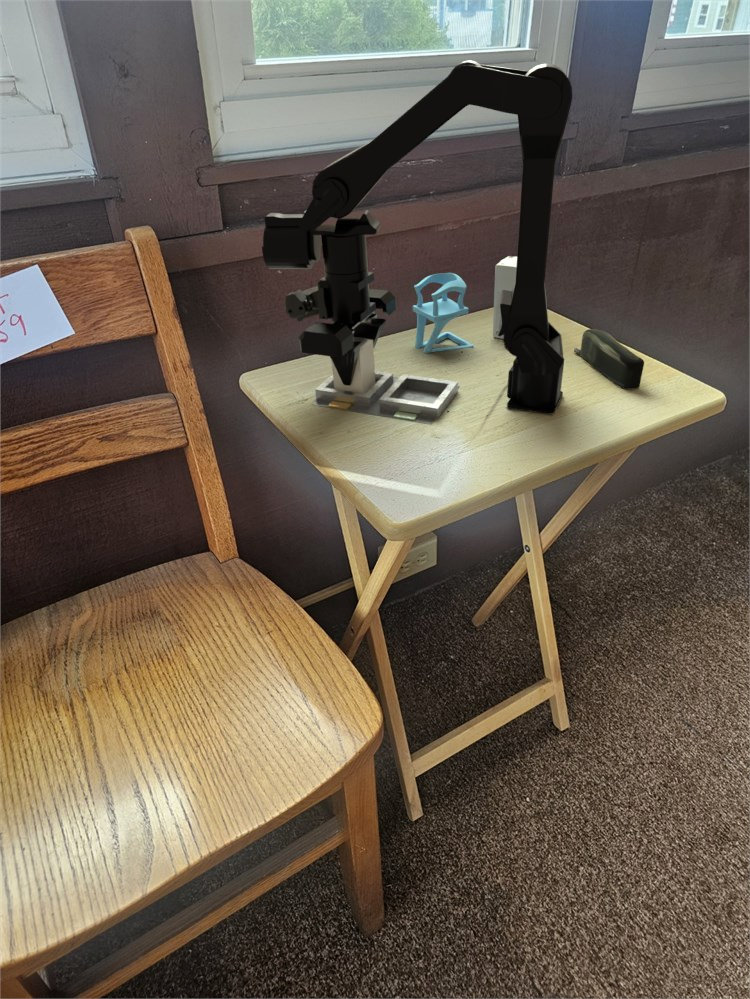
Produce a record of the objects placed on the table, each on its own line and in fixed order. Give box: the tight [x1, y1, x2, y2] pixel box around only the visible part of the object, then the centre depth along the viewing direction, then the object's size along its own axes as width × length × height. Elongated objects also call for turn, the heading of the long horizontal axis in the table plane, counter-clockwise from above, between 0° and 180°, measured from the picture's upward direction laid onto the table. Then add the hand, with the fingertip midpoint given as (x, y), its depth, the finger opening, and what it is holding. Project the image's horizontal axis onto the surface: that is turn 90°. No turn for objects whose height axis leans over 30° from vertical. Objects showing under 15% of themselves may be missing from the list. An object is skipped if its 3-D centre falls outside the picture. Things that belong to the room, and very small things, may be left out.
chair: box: [412, 272, 474, 354], centre depth 107 cm, size 8×8×12 cm
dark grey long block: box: [573, 328, 645, 390], centre depth 100 cm, size 5×3×15 cm
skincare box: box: [492, 255, 517, 340], centre depth 111 cm, size 6×4×12 cm
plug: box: [331, 337, 376, 394], centre depth 96 cm, size 5×4×7 cm
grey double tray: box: [311, 370, 461, 425], centre depth 96 cm, size 18×12×2 cm, turn 66°
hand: (354, 377), depth 97 cm, fingers closed on plug, 4 cm apart
